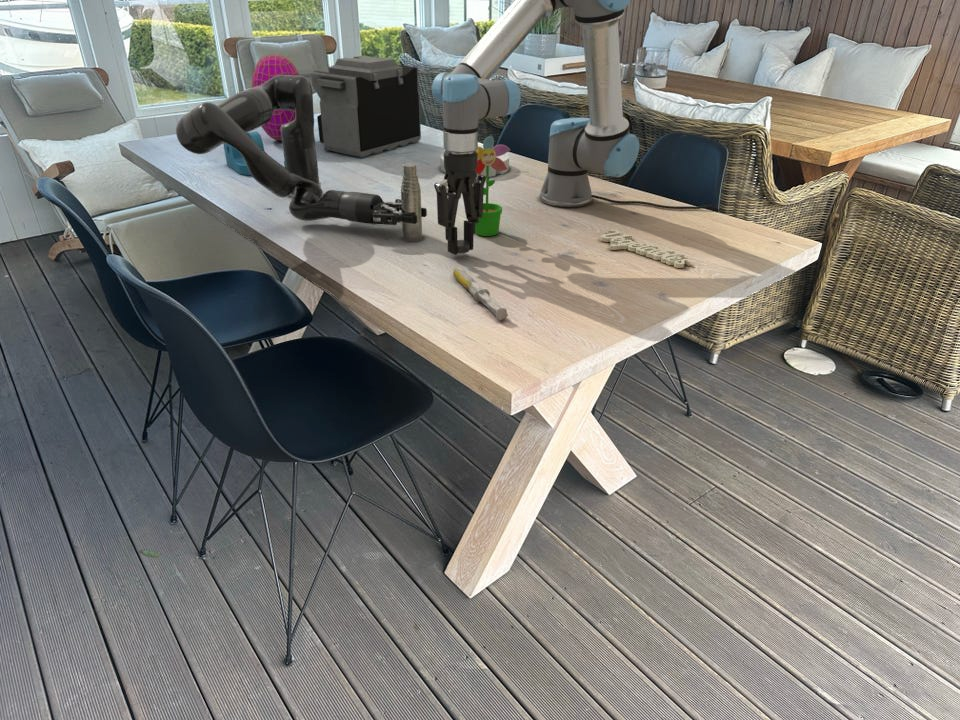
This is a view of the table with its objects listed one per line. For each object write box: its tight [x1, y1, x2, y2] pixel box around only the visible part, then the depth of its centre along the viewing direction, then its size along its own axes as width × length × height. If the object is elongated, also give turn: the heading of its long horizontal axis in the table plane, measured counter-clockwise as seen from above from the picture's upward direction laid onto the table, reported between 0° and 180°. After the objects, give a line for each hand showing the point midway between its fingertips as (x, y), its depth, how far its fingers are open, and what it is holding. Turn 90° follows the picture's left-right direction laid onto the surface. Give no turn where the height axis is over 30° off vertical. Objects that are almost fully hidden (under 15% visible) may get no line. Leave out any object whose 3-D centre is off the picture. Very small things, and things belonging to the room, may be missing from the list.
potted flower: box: [475, 135, 511, 237], centre depth 172 cm, size 9×8×25 cm
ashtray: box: [439, 147, 510, 178], centre depth 231 cm, size 23×23×4 cm
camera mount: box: [222, 131, 265, 176], centre depth 226 cm, size 18×10×10 cm, turn 35°
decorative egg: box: [251, 54, 301, 142], centre depth 257 cm, size 19×19×30 cm
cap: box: [457, 239, 471, 254], centre depth 162 cm, size 4×4×2 cm
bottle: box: [400, 162, 423, 242], centre depth 170 cm, size 5×5×19 cm
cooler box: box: [310, 55, 422, 159], centre depth 250 cm, size 37×22×30 cm, turn 144°
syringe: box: [452, 266, 509, 321], centre depth 145 cm, size 25×4×3 cm, turn 21°
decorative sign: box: [600, 229, 691, 269], centre depth 168 cm, size 26×1×10 cm
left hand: (421, 215), depth 171 cm, fingers closed on bottle, 5 cm apart
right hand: (460, 250), depth 163 cm, fingers closed on cap, 4 cm apart
